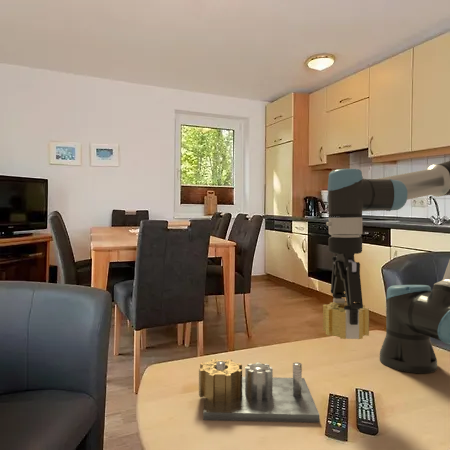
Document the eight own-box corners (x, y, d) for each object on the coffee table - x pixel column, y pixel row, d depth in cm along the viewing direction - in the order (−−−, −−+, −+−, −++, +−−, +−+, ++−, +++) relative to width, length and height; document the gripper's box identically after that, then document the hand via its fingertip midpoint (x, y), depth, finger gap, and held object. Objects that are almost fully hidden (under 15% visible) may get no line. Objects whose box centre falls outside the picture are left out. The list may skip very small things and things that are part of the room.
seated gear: (241, 383, 91) (241, 359, 91) (242, 403, 82) (242, 376, 81) (201, 382, 92) (201, 358, 92) (197, 402, 82) (197, 375, 82)
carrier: (304, 384, 95) (304, 350, 95) (319, 422, 77) (319, 381, 77) (209, 382, 96) (209, 349, 96) (203, 419, 78) (203, 378, 78)
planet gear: (359, 326, 92) (359, 302, 92) (374, 339, 82) (374, 312, 82) (319, 326, 93) (319, 302, 93) (329, 339, 83) (329, 312, 83)
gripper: (318, 234, 99) (318, 318, 99) (342, 238, 76) (342, 347, 76) (347, 233, 98) (347, 318, 99) (379, 238, 76) (379, 347, 76)
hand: (345, 331), depth 88 cm, fingers closed on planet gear, 10 cm apart
